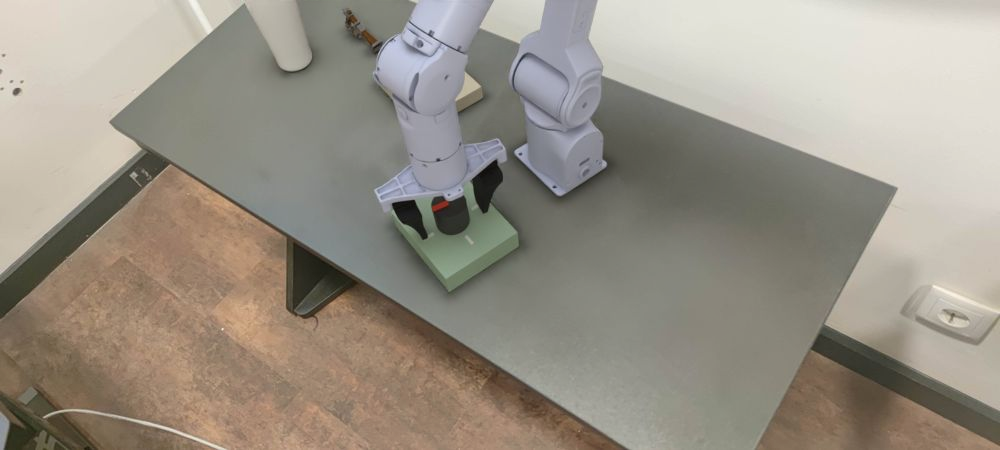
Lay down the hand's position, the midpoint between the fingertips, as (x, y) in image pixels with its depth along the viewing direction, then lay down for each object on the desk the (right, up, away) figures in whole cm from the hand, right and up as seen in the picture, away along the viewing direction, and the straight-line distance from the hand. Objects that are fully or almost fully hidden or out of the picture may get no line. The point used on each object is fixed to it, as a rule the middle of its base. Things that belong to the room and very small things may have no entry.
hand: (452, 219), depth 81 cm
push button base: (-4, +18, +18) cm, 26 cm away
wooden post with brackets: (-15, +27, +25) cm, 40 cm away
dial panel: (0, -2, +3) cm, 3 cm away
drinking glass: (-25, +24, +24) cm, 42 cm away
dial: (0, 0, 0) cm, 0 cm away
